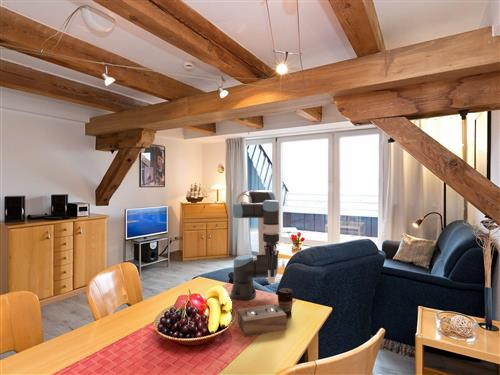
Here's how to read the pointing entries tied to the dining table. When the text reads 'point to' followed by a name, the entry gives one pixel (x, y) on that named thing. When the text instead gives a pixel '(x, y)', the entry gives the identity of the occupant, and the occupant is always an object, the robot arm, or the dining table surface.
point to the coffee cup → (285, 300)
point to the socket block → (261, 320)
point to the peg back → (271, 310)
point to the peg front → (251, 313)
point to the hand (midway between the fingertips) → (271, 282)
